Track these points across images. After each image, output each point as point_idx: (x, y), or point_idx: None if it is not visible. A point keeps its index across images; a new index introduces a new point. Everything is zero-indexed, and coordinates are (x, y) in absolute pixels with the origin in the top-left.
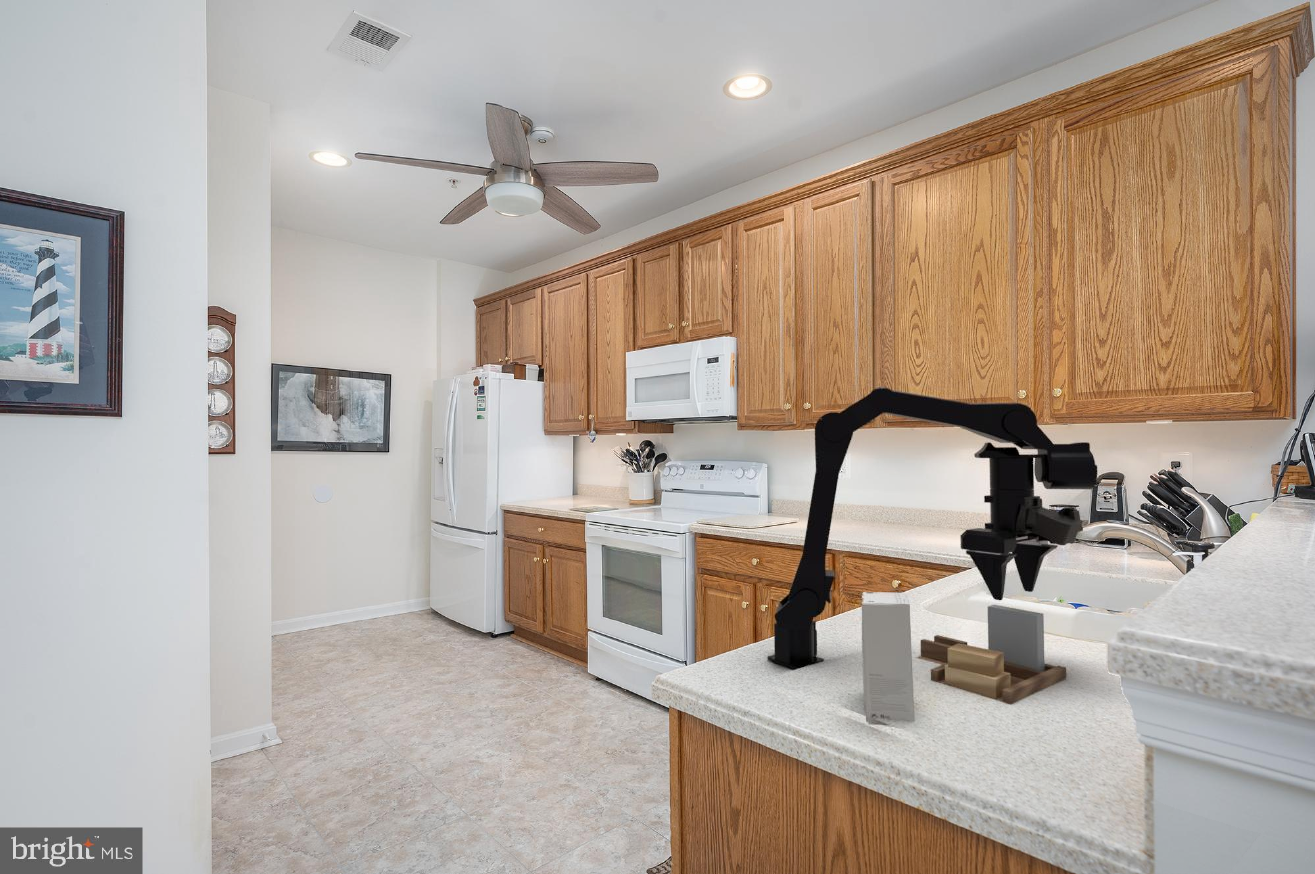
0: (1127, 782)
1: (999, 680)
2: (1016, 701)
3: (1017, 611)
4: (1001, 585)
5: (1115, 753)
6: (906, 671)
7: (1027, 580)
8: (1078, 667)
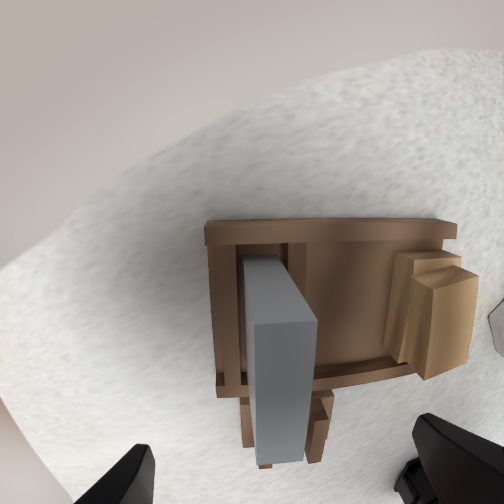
0: (491, 53)
1: (446, 256)
2: (428, 220)
3: (301, 391)
4: (477, 436)
5: (449, 65)
6: None
7: (144, 491)
8: (69, 262)
